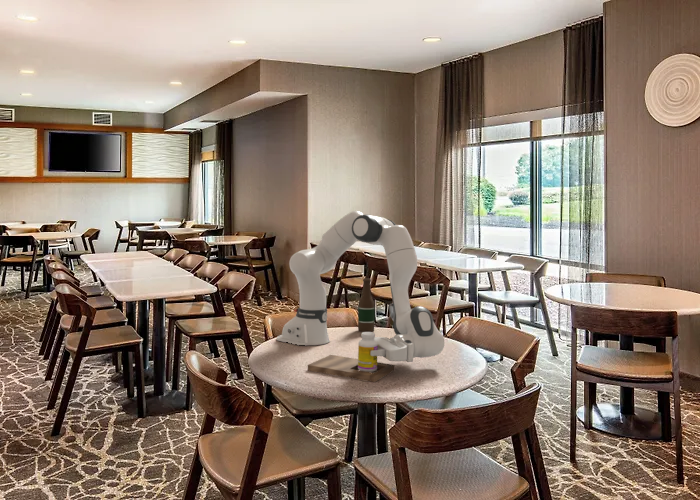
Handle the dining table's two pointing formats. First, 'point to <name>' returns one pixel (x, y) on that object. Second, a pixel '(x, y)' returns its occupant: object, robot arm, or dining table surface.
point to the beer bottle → (366, 309)
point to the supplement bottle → (367, 352)
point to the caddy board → (349, 368)
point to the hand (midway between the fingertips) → (365, 350)
